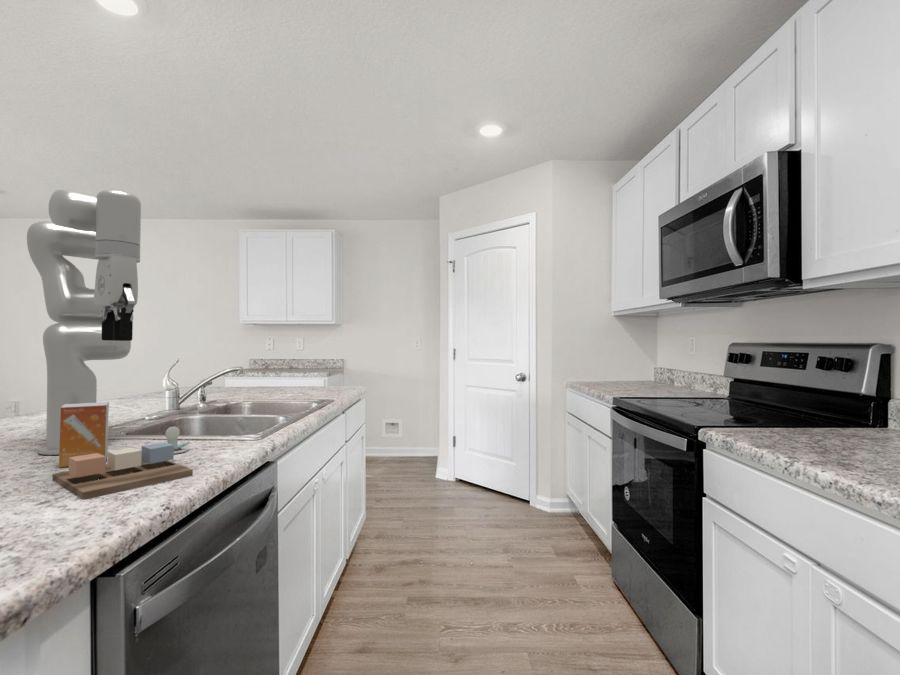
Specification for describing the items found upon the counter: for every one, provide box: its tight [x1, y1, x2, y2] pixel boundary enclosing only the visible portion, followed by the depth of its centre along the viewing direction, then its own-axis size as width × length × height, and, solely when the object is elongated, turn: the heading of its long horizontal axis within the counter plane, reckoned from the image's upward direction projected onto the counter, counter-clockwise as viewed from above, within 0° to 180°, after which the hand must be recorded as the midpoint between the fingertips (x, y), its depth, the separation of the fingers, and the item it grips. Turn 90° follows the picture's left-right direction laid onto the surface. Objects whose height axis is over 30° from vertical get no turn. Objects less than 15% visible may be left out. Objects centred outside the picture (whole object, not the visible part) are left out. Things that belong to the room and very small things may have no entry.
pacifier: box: [165, 426, 190, 455], centre depth 111 cm, size 7×6×6 cm
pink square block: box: [68, 453, 107, 478], centre depth 86 cm, size 4×4×3 cm
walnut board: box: [51, 460, 194, 500], centre depth 91 cm, size 18×18×1 cm
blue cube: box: [141, 441, 175, 464], centre depth 96 cm, size 4×4×3 cm
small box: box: [58, 401, 110, 468], centre depth 102 cm, size 8×6×13 cm
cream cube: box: [106, 447, 142, 470], centre depth 91 cm, size 4×4×3 cm
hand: (116, 339), depth 94 cm, fingers open, 5 cm apart
